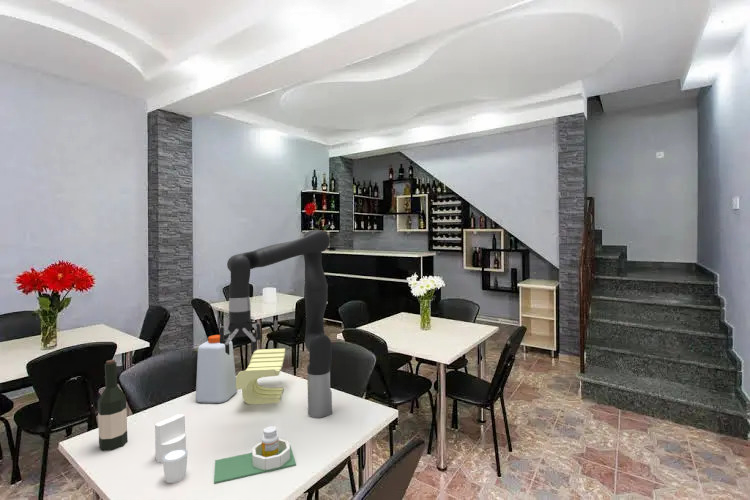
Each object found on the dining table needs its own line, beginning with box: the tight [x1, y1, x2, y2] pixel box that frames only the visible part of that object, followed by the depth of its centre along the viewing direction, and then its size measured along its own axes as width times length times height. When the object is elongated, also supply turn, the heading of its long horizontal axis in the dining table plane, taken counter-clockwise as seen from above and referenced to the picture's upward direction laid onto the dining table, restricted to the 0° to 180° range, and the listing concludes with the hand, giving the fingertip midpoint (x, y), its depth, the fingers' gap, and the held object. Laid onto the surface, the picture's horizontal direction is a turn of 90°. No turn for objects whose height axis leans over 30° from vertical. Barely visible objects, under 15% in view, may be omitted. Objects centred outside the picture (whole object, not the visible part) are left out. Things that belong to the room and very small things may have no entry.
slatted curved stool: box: [236, 348, 286, 405], centre depth 173 cm, size 30×16×18 cm, turn 5°
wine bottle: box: [97, 359, 129, 452], centre depth 134 cm, size 8×8×30 cm
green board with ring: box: [213, 438, 297, 485], centre depth 122 cm, size 24×12×4 cm, turn 111°
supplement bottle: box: [261, 425, 280, 457], centre depth 124 cm, size 5×5×10 cm
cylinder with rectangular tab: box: [154, 413, 187, 464], centre depth 128 cm, size 9×9×12 cm
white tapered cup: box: [162, 449, 188, 484], centre depth 116 cm, size 7×7×7 cm
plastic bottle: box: [195, 334, 238, 404], centre depth 174 cm, size 15×15×28 cm
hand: (240, 352), depth 141 cm, fingers open, 8 cm apart
